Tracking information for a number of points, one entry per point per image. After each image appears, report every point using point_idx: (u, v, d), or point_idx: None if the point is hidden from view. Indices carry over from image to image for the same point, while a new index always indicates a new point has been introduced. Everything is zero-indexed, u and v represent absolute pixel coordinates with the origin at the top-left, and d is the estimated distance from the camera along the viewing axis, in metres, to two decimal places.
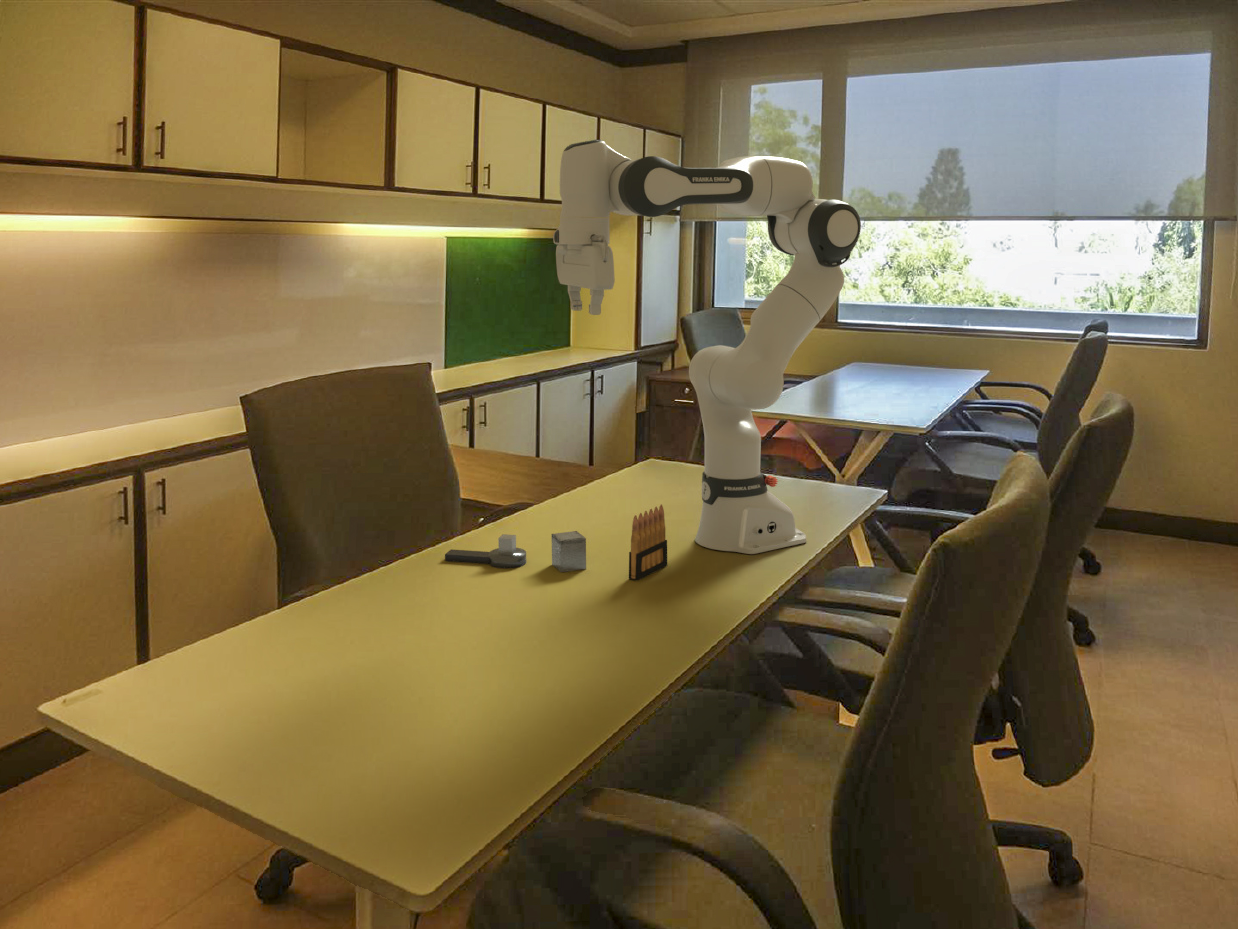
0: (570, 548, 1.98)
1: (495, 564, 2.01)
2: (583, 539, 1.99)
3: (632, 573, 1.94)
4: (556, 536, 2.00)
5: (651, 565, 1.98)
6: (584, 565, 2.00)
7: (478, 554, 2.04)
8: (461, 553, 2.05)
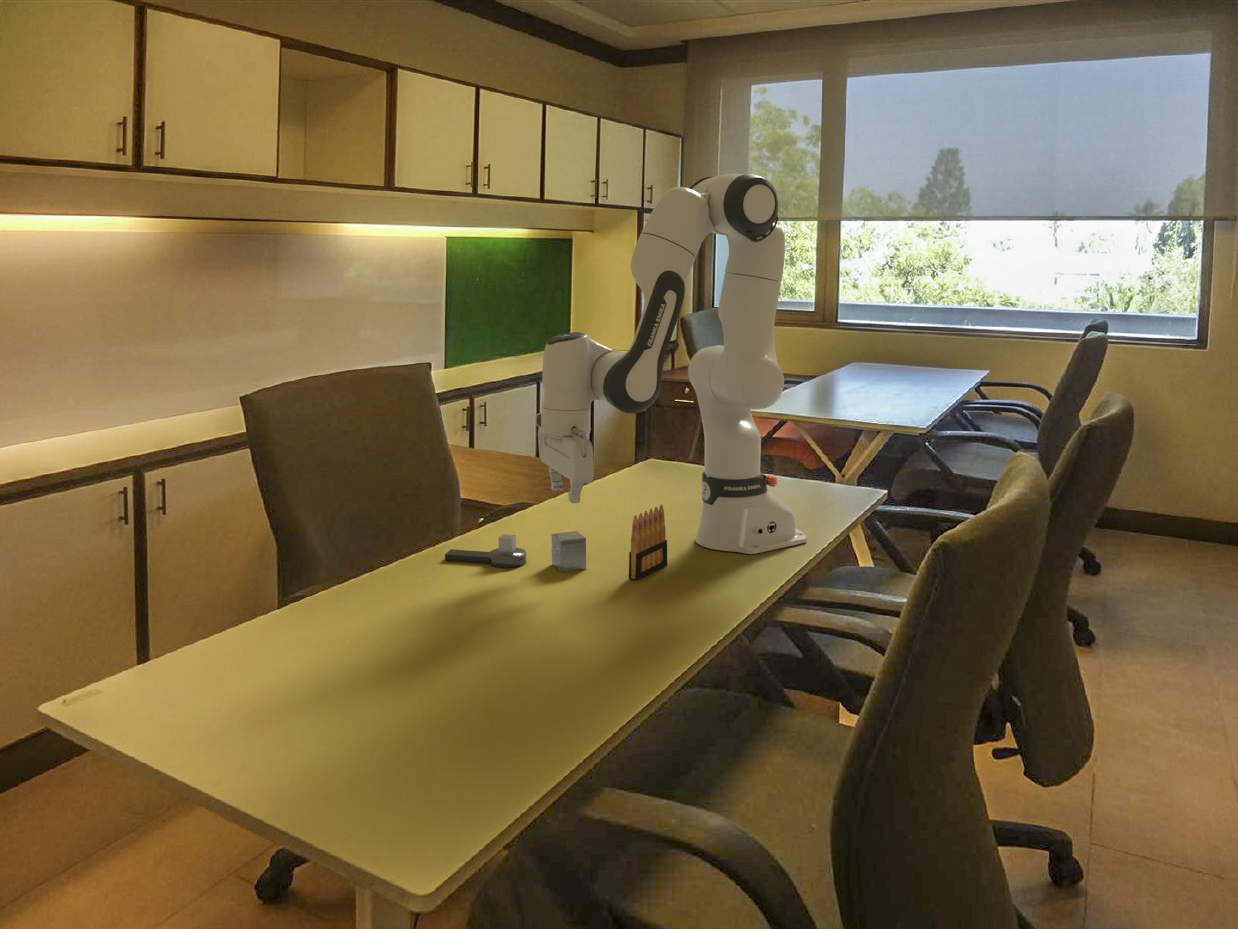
0: (570, 548, 1.98)
1: (495, 564, 2.01)
2: (583, 539, 1.99)
3: (632, 573, 1.94)
4: (556, 536, 2.00)
5: (651, 565, 1.98)
6: (584, 565, 2.00)
7: (478, 554, 2.04)
8: (461, 553, 2.05)
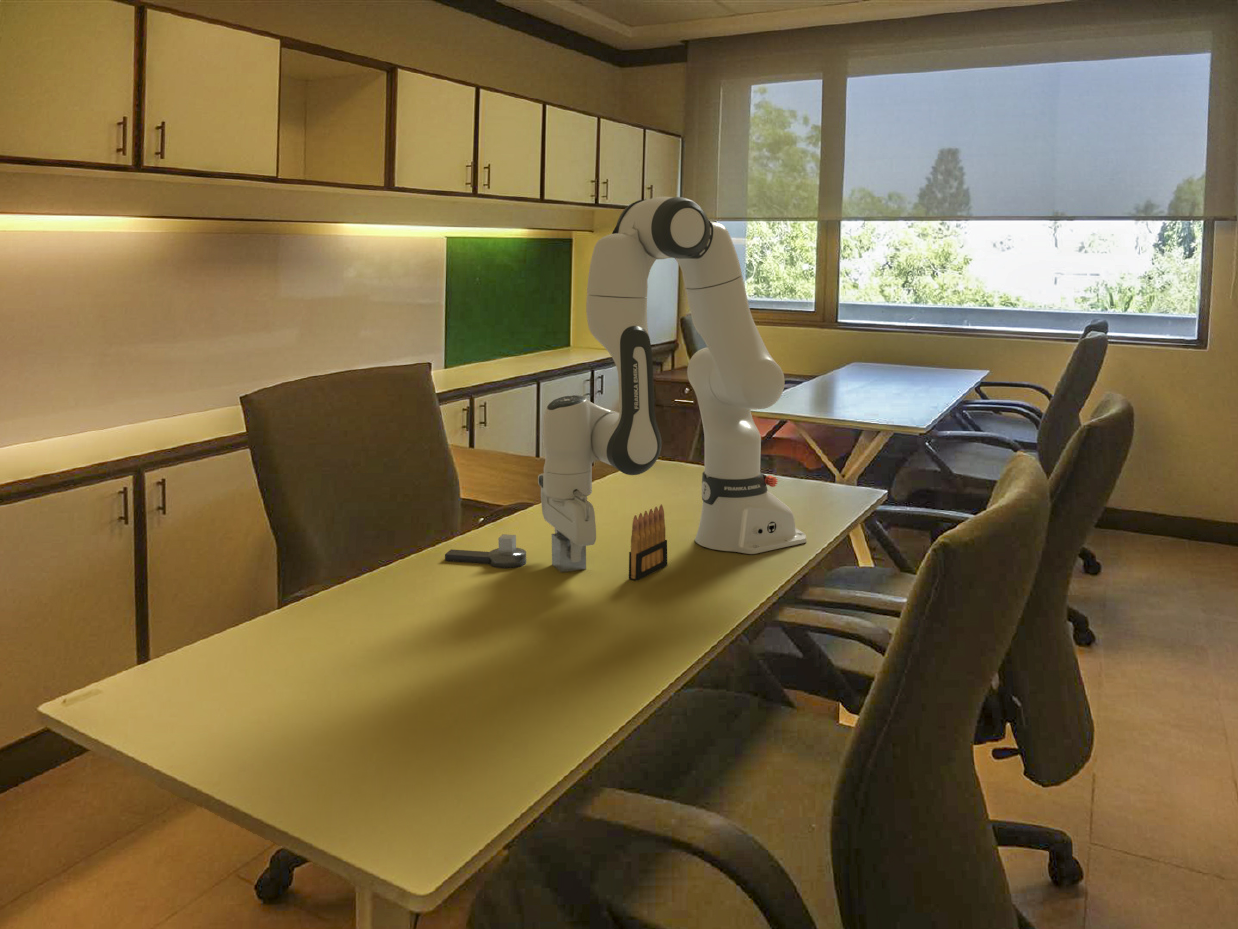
0: (570, 548, 1.98)
1: (495, 564, 2.01)
2: None
3: (632, 573, 1.94)
4: (556, 536, 2.00)
5: (651, 565, 1.98)
6: (584, 565, 2.00)
7: (478, 554, 2.04)
8: (461, 553, 2.05)
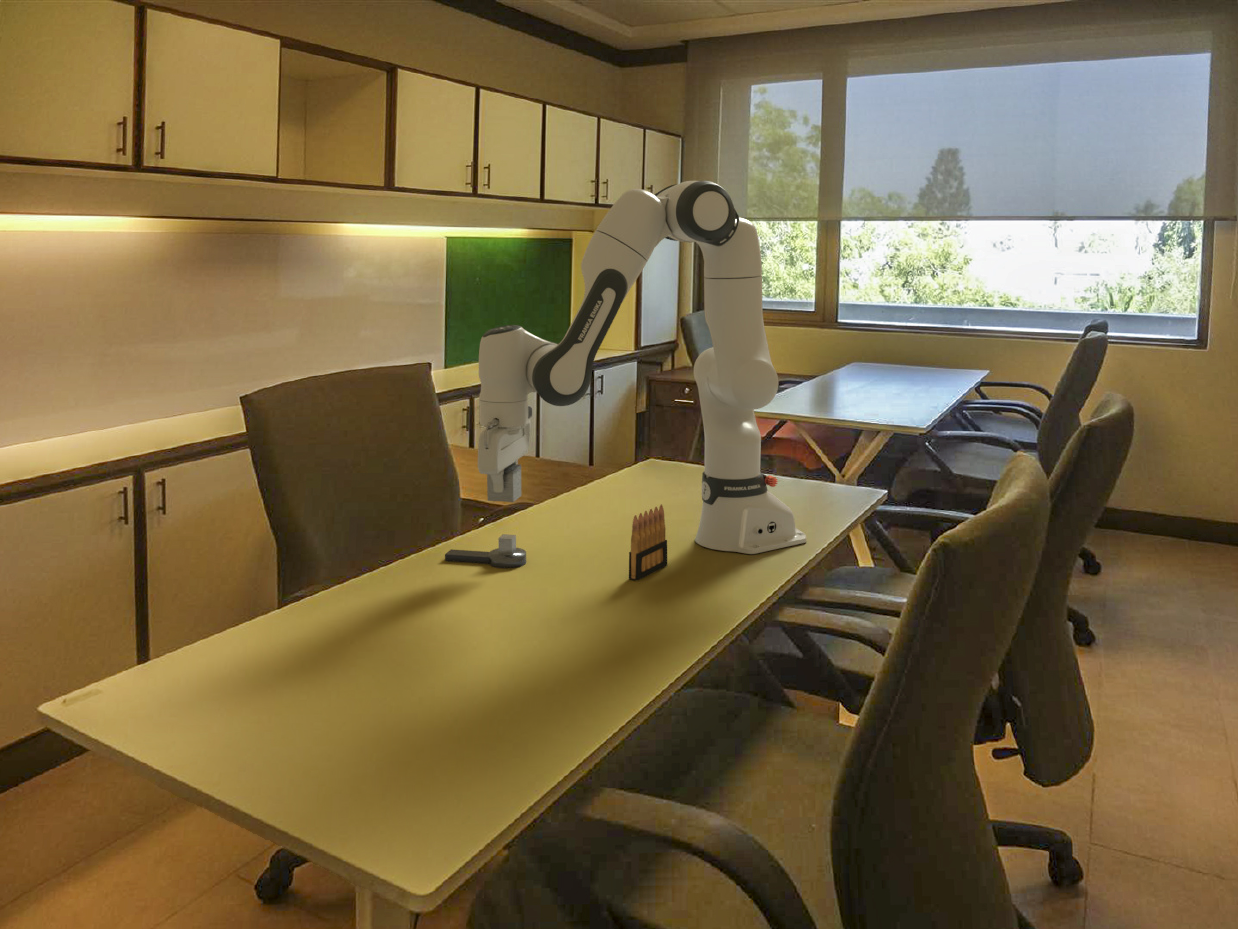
0: None
1: (495, 564, 2.01)
2: (510, 471, 1.97)
3: (632, 573, 1.94)
4: None
5: (651, 565, 1.98)
6: (511, 498, 1.98)
7: (478, 554, 2.04)
8: (461, 553, 2.05)
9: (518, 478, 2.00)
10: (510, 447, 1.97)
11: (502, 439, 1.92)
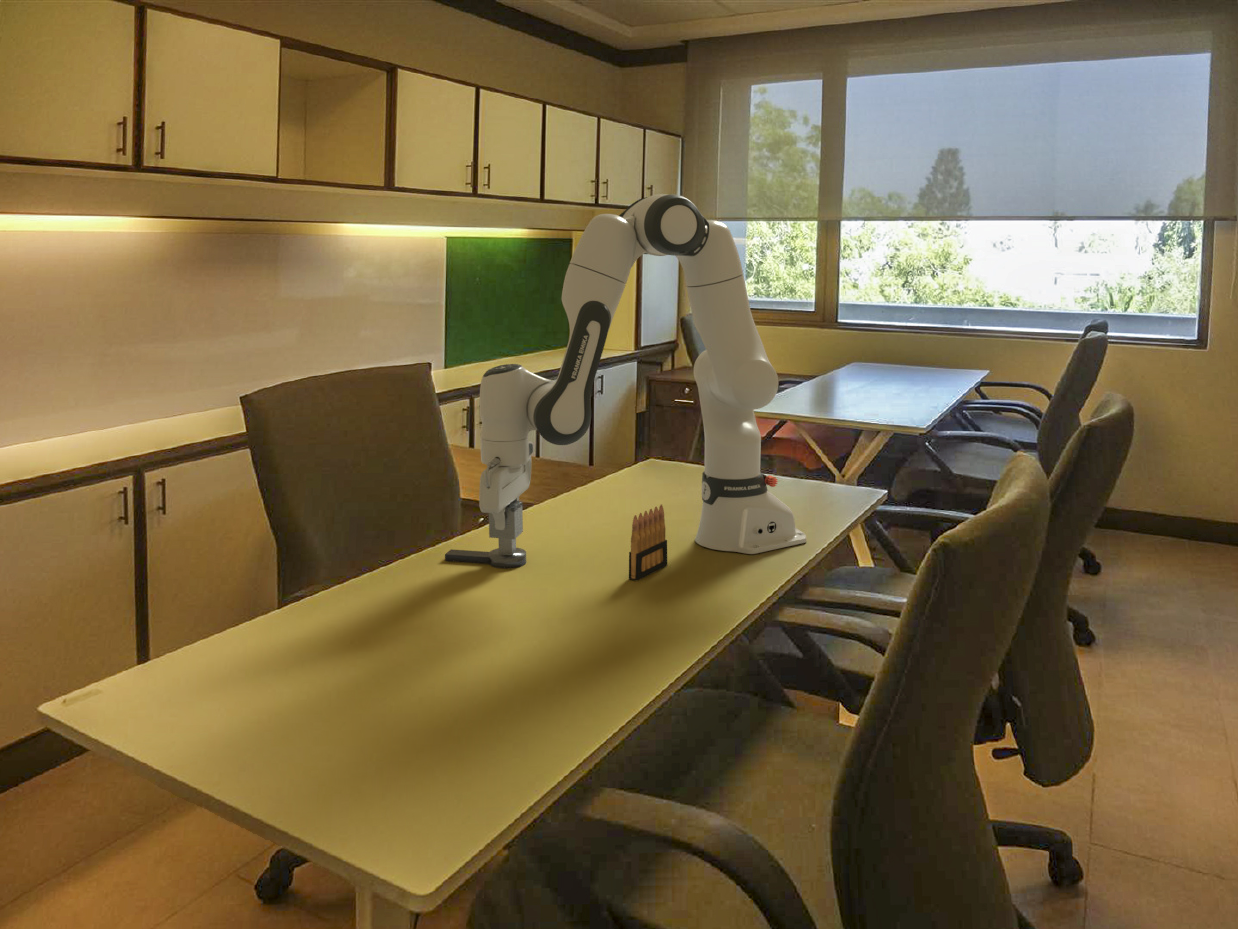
0: None
1: (495, 564, 2.01)
2: (511, 509, 1.99)
3: (632, 573, 1.94)
4: None
5: (651, 565, 1.98)
6: (513, 535, 2.00)
7: (478, 554, 2.04)
8: (461, 553, 2.05)
9: (519, 514, 2.02)
10: (511, 485, 1.98)
11: (503, 478, 1.93)
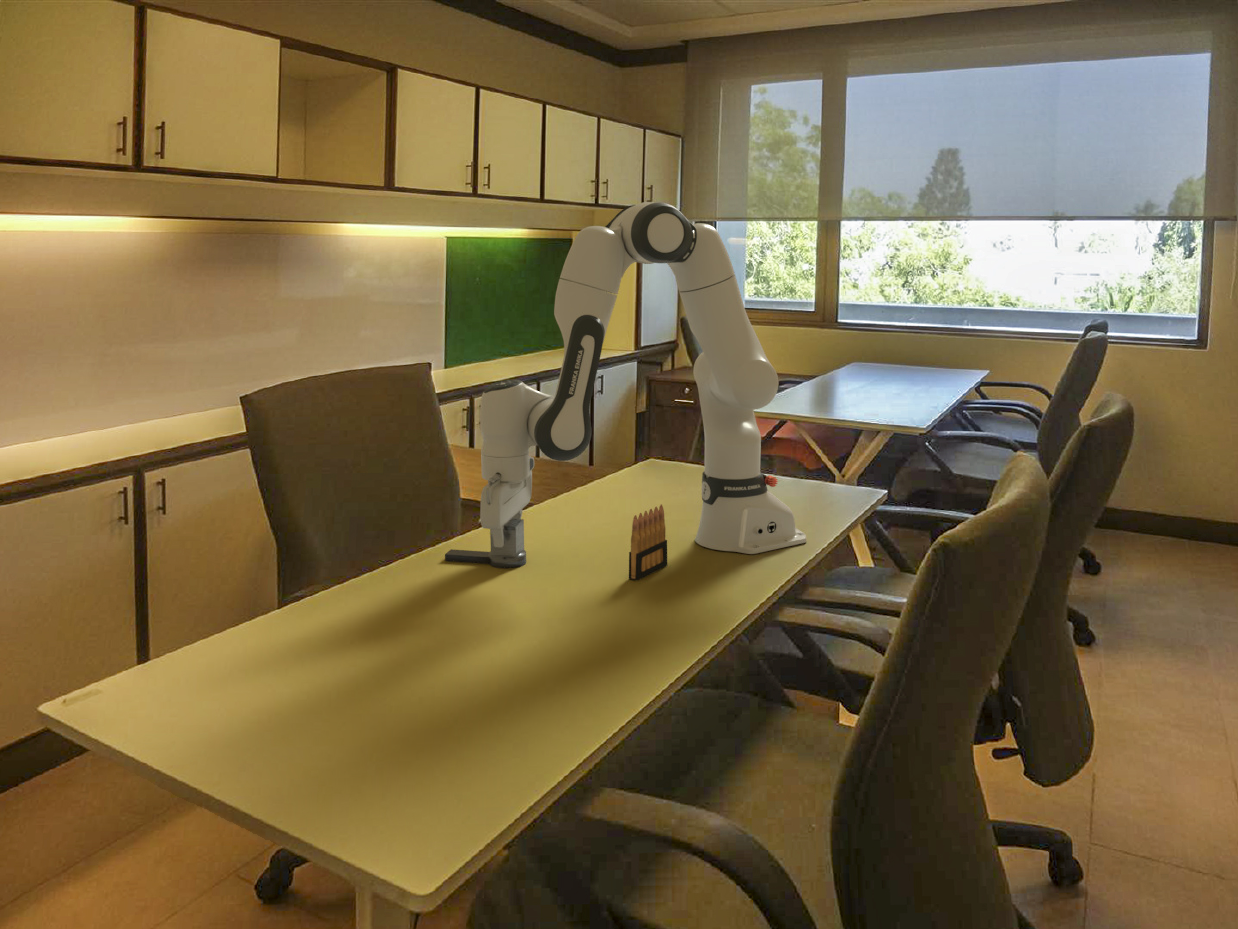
0: None
1: (495, 564, 2.01)
2: (513, 527, 1.99)
3: (632, 573, 1.94)
4: None
5: (651, 565, 1.98)
6: (514, 553, 2.01)
7: (478, 554, 2.04)
8: (461, 553, 2.05)
9: (520, 532, 2.03)
10: (512, 500, 1.99)
11: (504, 494, 1.94)
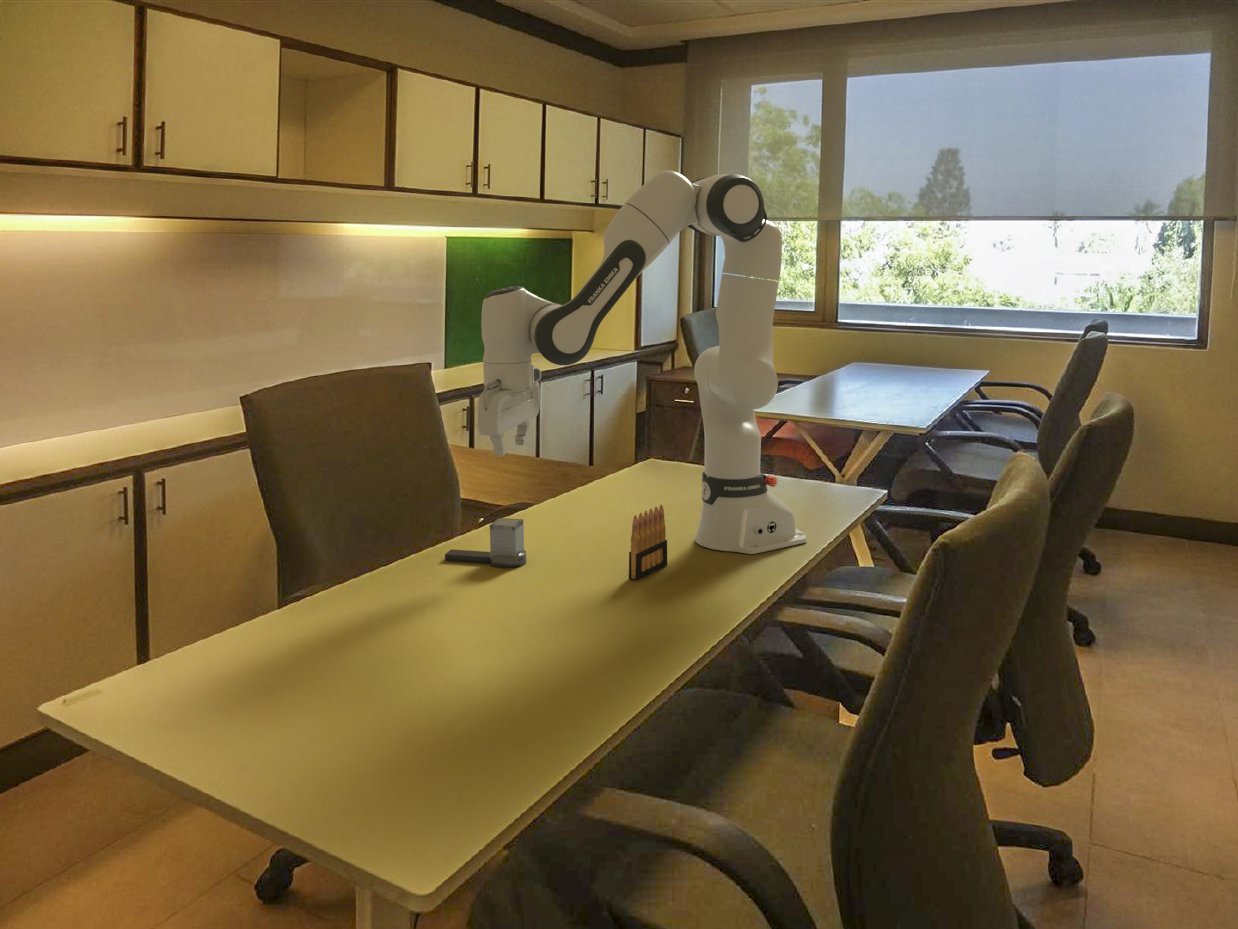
0: (499, 534, 2.00)
1: (495, 564, 2.01)
2: (512, 527, 1.99)
3: (632, 573, 1.94)
4: (497, 520, 2.03)
5: (651, 565, 1.98)
6: (514, 553, 2.01)
7: (478, 554, 2.04)
8: (461, 553, 2.05)
9: (520, 532, 2.03)
10: (513, 409, 1.96)
11: (503, 400, 1.91)
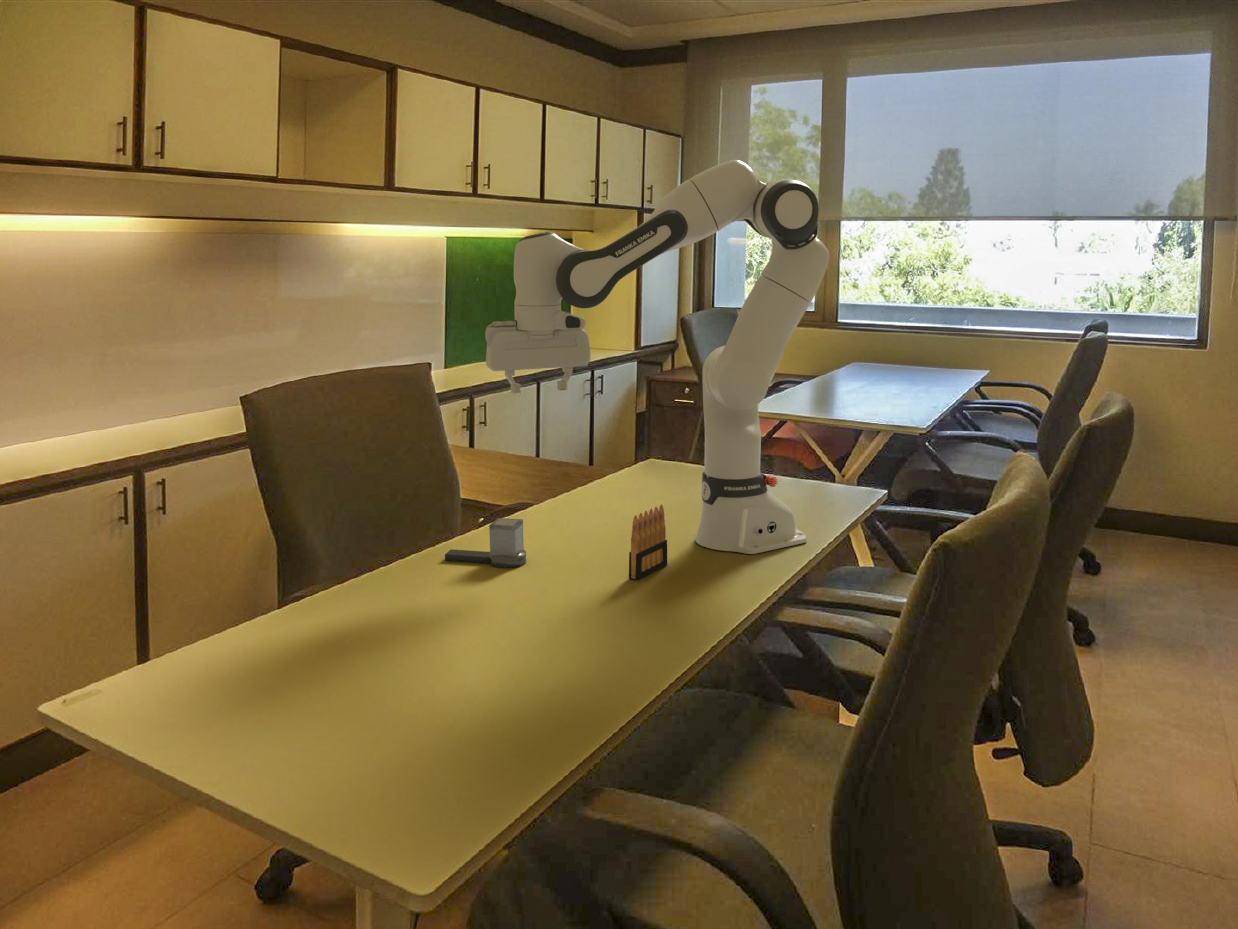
0: (499, 534, 2.00)
1: (495, 564, 2.01)
2: (512, 527, 1.99)
3: (632, 573, 1.94)
4: (497, 520, 2.03)
5: (651, 565, 1.98)
6: (514, 553, 2.00)
7: (478, 554, 2.04)
8: (461, 553, 2.05)
9: (520, 533, 2.03)
10: (531, 351, 2.03)
11: (509, 339, 2.01)
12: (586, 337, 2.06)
